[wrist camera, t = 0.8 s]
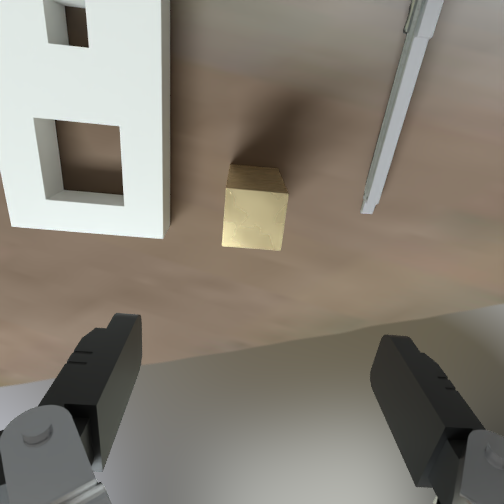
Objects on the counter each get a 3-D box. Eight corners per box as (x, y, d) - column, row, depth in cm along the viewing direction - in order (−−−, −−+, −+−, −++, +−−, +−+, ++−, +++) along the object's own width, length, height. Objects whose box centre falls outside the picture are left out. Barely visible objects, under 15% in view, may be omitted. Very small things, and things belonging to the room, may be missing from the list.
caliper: (417, -83, 23) (474, -142, 17) (433, -82, 23) (495, -139, 17) (359, 212, 31) (384, 238, 26) (370, 212, 31) (398, 239, 26)
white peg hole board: (170, -57, 23) (160, -77, 20) (170, 226, 31) (163, 238, 29) (-19, -82, 22) (-56, -106, 20) (32, 214, 31) (11, 226, 28)
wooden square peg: (277, 168, 29) (288, 193, 22) (271, 213, 31) (280, 250, 24) (230, 163, 29) (225, 188, 22) (227, 209, 31) (222, 245, 24)
